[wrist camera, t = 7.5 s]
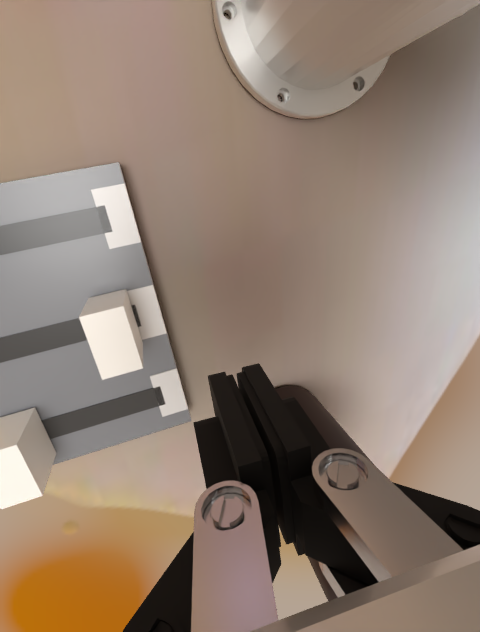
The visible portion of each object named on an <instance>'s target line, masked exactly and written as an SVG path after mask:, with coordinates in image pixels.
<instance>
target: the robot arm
mask: <svg viewBox="0 0 480 632" xmlns="http://www.w3.org/2000/svg"><path fill="white" fill-rule="evenodd" d="M479 4H480V0H212V8H213V16H214V24H215V28H216V31H217V35H218V38H219V42H220V45H221V48H222V50H223V52H224V55H225V57H226V59H227V61H228V63H229V65H230V68H231V69H232V71H233V72H234V73H235V75H236V76H237V78H238V79H239V81H240V82H241V84H242V85H243V86H244V87H245V88H246V89H247V90H248V91H249V92H250V93H251V94H252V95H253V97H254V98H255V99H257V100H258V101H259V102H261V103H262V104H264V105H265V106H267V107H268V108H270V109H271V110H273V111H276V112H278V113H280V114H283V115H285V116H289V117H295V118H300V119H310V118H320V117H324V116H327V115H330V114H334V113H336V112H338V111H340V110H342V109H345V108H347V107H348V106H350V105H351V104H353V103H354V102H355V101H357V100H358V99H360V98H361V97H362V96H363V95H364V94H365V93H366V92H367V91H368V90H369V89H370V88H371V87H372V86H373V85H374V83H375V82H376V80H377V79H378V77H379V76H380V74H381V73H382V71H383V70H384V68H385V66H386V64H387V61H388V59H389V57H390V55H391V54H392V53H394V52H396V51H398V50H399V49H401V48H403V47H405V46H406V45H408V44H410V43H412V42H414V41H415V40H417V39H419V38H421V37H422V36H424V35H426V34H428V33H430V32H431V31H433V30H435V29H437V28H438V27H440V26H442V25H444V24H445V23H447V22H449V21H451V20H453V19H454V18H458V17H460V16H462V15H464V14H465V13H466V12H467V11H468V10H470V9H472V8H474V7H476V6H477V5H479ZM223 13H227V14H228V15H229V16H230V19H227V18H226V17H225V16H224V15H223ZM353 85H354V86H353ZM277 95H280V96H281V97H282V102H280V101H279V100H278V97H277ZM208 380H209V385H210V390H211V396H212V401H213V406H214V411H215V416H216V417H213V418H209V419H205V420H201V421H198V422H194V428H195V433H196V438H197V443H198V448H199V453H200V458H201V463H202V468H203V473H204V478H205V483H206V488H207V489H206V490H205V491H204V492H203V494H202V495H201V496H200V497H199V499H198V501H197V503H196V507H195V512H194V532H193V533H192V535H191V536H190V538H189V539H188V540H187V542H186V543H185V545H184V546H183V547H182V549H181V550H180V551H179V553H178V554H177V556H176V557H175V559H174V560H173V561H172V563H171V564H170V565H169V567H168V568H167V570H166V571H165V572H164V574H163V575H162V577H161V578H160V579H159V581H158V582H157V584H156V585H155V586H154V588H153V589H152V591H151V592H150V593H149V595H148V596H147V597H146V599H145V600H144V602H143V603H142V604H141V606H140V607H139V609H138V610H137V612H136V613H135V614H134V616H133V617H132V619H131V620H130V621H129V623H128V624H127V625H126V627H125V629H124V630H123V632H480V511H479V510H476V509H474V508H472V507H469V506H467V505H463V504H460V503H457V502H454V501H450V500H447V499H444V498H441V497H438V496H434V495H431V494H428V493H425V492H422V491H418V490H415V489H412V488H409V487H406V486H402V485H399V484H396V483H393V482H391V481H390V480H389V479H388V478H387V477H386V476H385V475H384V474H383V473H382V472H381V471H380V470H379V469H378V468H377V467H375V466H374V465H373V464H372V463H371V462H370V461H369V460H368V459H367V458H366V457H364V456H363V455H361V454H360V453H358V452H355V451H353V450H349V449H344V448H336V449H330V447H329V446H328V444H327V443H326V441H325V440H324V439H323V437H322V436H321V434H320V433H319V431H318V430H317V429H316V427H315V426H314V424H313V423H312V421H311V420H310V418H309V417H308V416H307V414H306V413H305V411H304V410H303V408H302V407H301V405H300V404H299V403H298V401H297V400H296V399H295V397H293V396H292V397H288V398H284V399H281V398H280V396H279V395H278V393H277V391H276V390H275V388H274V387H273V385H272V383H271V382H270V380H269V379H268V377H267V375H266V374H265V372H264V371H263V369H262V367H261V366H260V364H254V365H250V366H246V367H242V372H240V373H237V380H238V386H239V388H238V386H237V384H236V382H235V379H234V377H233V375H228V376H226V373H225V372H221V373H217V374H213V375H209V376H208ZM278 525H279V526H278ZM279 527H280V530H281V533H282V535H283V538H284V540H285V542H286V544H289V543H293V544H294V546H295V549H296V551H297V553H298V555H302V554H305V555H306V556H308V557H311V558H313V559H315V560H317V561H319V566H320V568H321V570H322V573H323V574H324V576H325V578H326V579H327V581H328V582H329V584H330V586H331V587H332V589H333V590H334V592H335V594H336V595H337V597H338V598H336V599H334V600H331V601H328V602H326V603H323V604H321V605H318V606H315V607H313V608H310V609H307V610H305V611H303V612H300V613H297V614H295V615H292V616H289V617H287V618H284V619H281V620H279V621H278V615H277V609H276V603H275V597H274V592H273V586H272V583H273V581H274V579H275V576H276V574H277V572H278V570H279V567H280V566H281V558H280V551H279V547H281V542H280V534H279Z"/></svg>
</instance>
